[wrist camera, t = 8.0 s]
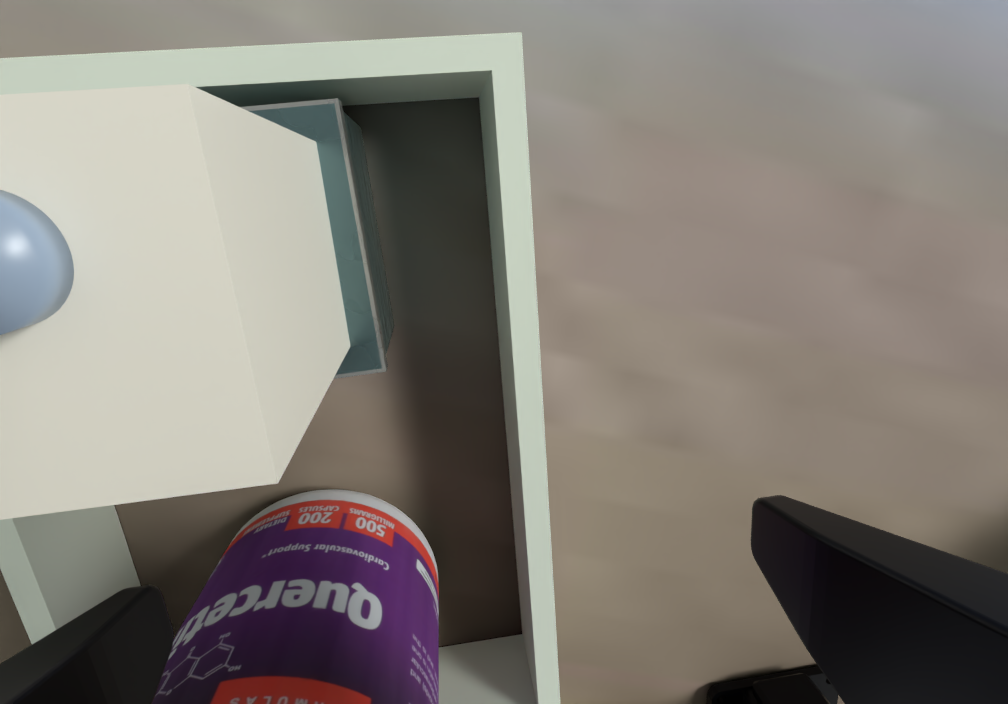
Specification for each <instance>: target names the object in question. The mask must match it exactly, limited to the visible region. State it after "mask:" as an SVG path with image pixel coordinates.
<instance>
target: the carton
mask: <svg viewBox="0 0 1008 704" xmlns="http://www.w3.org/2000/svg"><path fill="white" fill-rule="evenodd" d="M349 348H350V340H349V334H348V328H347V322H346V316H345V310H344V304H343V298H342V292H341V286H340V280H339V274H338V268H337V262H336V256H335V251H334V245H333V239H332V233H331V227H330V221H329V215H328V209H327V203H326V197H325V191H324V185H323V179H322V173H321V167H320V161H319V155H318V149H317V143H316V141H314V140H311V139H309V138H307V137H305V136H302V135H300V134H298V133H296V132H294V131H291V130H289V129H287V128H285V127H282V126H280V125H278V124H276V123H274V122H271V121H269V120H267V119H265V118H262V117H260V116H258V115H256V114H254V113H251V112H249V111H247V110H245V109H242V108H240V107H238V106H236V105H234V104H231V103H229V102H227V101H225V100H222V99H220V98H218V97H216V96H214V95H211V94H209V93H207V92H205V91H203V90H200V89H198V88H196V87H194V86H191V85H189V84H177V85H160V86H142V87H125V88H107V89H90V90H73V91H55V92H38V93H21V94H3V95H0V520H3V519H10V518H18V517H25V516H33V515H41V514H48V513H56V512H64V511H71V510H79V509H86V508H94V507H102V506H109V505H117V504H124V503H132V502H140V501H147V500H155V499H162V498H170V497H178V496H185V495H193V494H201V493H208V492H216V491H223V490H231V489H239V488H246V487H254V486H261V485H269V484H277V483H278V482H279V480H280V479H281V477H282V475H283V473H284V471H285V469H286V467H287V465H288V463H289V462H290V460H291V458H292V456H293V454H294V452H295V450H296V448H297V446H298V445H299V443H300V441H301V439H302V437H303V435H304V433H305V431H306V429H307V427H308V426H309V424H310V422H311V420H312V418H313V416H314V414H315V412H316V410H317V409H318V407H319V405H320V403H321V401H322V399H323V397H324V395H325V393H326V392H327V390H328V388H329V386H330V384H331V382H332V380H333V378H334V376H335V375H336V373H337V371H338V369H339V367H340V365H341V363H342V361H343V359H344V357H345V356H346V354H347V352H348V350H349Z"/></svg>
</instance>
